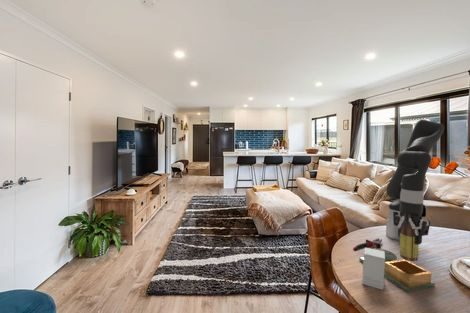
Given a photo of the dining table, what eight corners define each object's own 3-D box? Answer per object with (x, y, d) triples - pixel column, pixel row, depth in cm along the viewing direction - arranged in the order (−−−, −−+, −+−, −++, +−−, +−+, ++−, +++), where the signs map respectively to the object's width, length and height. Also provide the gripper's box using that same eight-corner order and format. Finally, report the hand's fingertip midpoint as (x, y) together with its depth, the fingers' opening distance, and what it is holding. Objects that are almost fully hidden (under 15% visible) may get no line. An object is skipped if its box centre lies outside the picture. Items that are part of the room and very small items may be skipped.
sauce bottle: (414, 256, 98) (417, 209, 97) (420, 263, 93) (424, 214, 91) (396, 253, 101) (399, 208, 99) (401, 260, 95) (404, 212, 93)
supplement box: (383, 290, 90) (385, 258, 89) (361, 284, 94) (363, 253, 93) (383, 280, 97) (385, 251, 96) (363, 275, 100) (364, 246, 100)
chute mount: (359, 260, 113) (359, 249, 112) (383, 257, 116) (383, 246, 116) (407, 291, 90) (407, 277, 89) (434, 286, 93) (435, 273, 93)
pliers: (369, 252, 117) (388, 239, 130) (352, 246, 124) (372, 234, 137) (368, 258, 118) (388, 245, 130) (352, 251, 125) (372, 239, 137)
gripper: (437, 204, 89) (434, 247, 90) (402, 195, 103) (400, 233, 104) (422, 205, 87) (419, 249, 88) (388, 196, 101) (386, 234, 102)
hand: (409, 240), depth 96 cm, fingers closed on sauce bottle, 6 cm apart
